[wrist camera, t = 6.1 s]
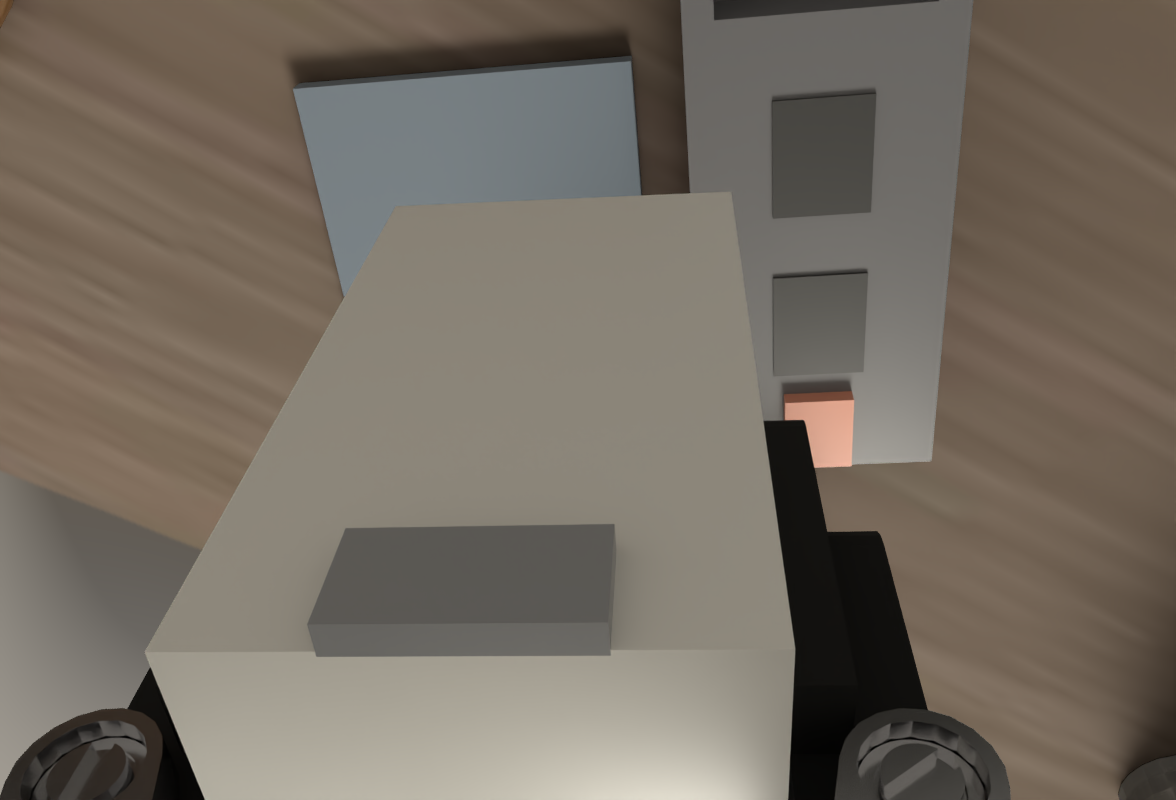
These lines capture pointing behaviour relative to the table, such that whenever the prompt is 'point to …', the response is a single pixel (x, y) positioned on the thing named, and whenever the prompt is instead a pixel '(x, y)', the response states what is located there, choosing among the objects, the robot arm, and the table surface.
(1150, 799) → the beverage cup
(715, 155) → the power strip
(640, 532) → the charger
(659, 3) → the table surface
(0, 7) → the place setting
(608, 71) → the mat
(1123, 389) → the table surface
